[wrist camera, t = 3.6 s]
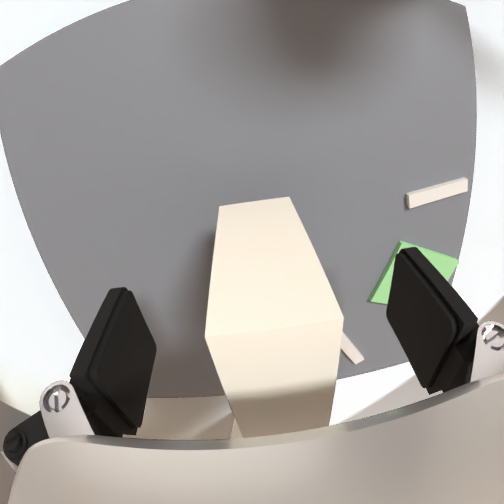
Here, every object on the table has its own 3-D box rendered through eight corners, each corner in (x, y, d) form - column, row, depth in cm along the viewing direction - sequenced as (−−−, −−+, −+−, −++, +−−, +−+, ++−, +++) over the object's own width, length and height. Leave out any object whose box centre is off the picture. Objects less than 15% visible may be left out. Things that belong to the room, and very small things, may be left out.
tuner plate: (8, 71, 9) (-12, 72, 8) (448, 9, 9) (468, 5, 7) (129, 382, 21) (124, 399, 20) (419, 343, 21) (427, 358, 19)
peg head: (222, 186, 12) (204, 336, 5) (280, 178, 12) (343, 316, 5) (258, 379, 19) (268, 494, 11) (294, 374, 18) (314, 488, 11)
